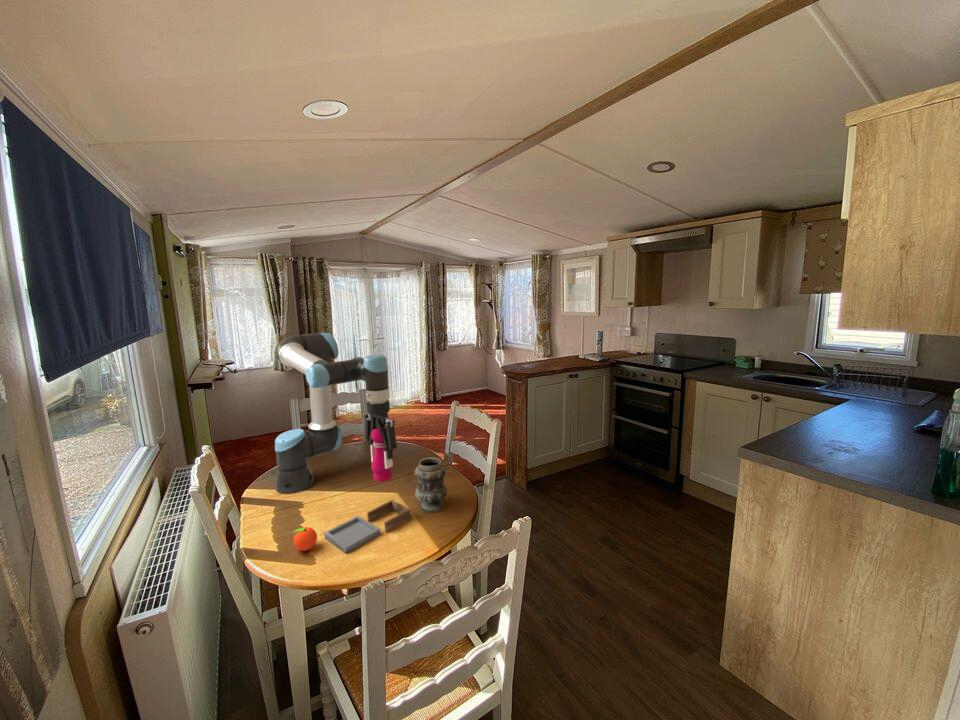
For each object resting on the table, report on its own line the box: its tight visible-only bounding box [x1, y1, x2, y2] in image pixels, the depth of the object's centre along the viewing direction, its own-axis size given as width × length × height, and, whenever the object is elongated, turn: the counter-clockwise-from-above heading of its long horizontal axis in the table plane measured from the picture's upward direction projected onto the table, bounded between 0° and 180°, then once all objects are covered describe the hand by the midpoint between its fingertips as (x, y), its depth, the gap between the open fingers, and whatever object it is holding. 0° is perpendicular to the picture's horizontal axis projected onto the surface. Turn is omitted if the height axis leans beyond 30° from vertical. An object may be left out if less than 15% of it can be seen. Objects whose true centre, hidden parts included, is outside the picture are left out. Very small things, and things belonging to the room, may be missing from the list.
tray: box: [323, 515, 381, 554], centre depth 134 cm, size 13×13×2 cm
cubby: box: [366, 499, 412, 533], centre depth 144 cm, size 11×11×4 cm
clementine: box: [291, 526, 318, 552], centre depth 128 cm, size 8×7×7 cm
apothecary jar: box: [414, 457, 448, 514], centre depth 151 cm, size 12×12×18 cm
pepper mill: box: [371, 427, 394, 483], centre depth 138 cm, size 7×7×20 cm
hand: (382, 464), depth 139 cm, fingers closed on pepper mill, 7 cm apart
